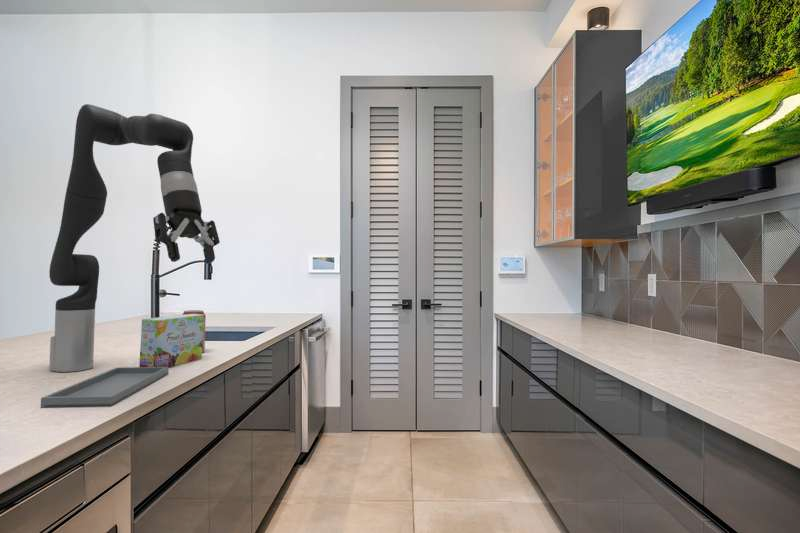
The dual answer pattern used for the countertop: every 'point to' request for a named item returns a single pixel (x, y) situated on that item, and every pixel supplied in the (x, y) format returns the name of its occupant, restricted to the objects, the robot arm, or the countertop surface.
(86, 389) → the tray
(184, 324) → the snack box
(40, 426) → the countertop surface
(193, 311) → the soda can
